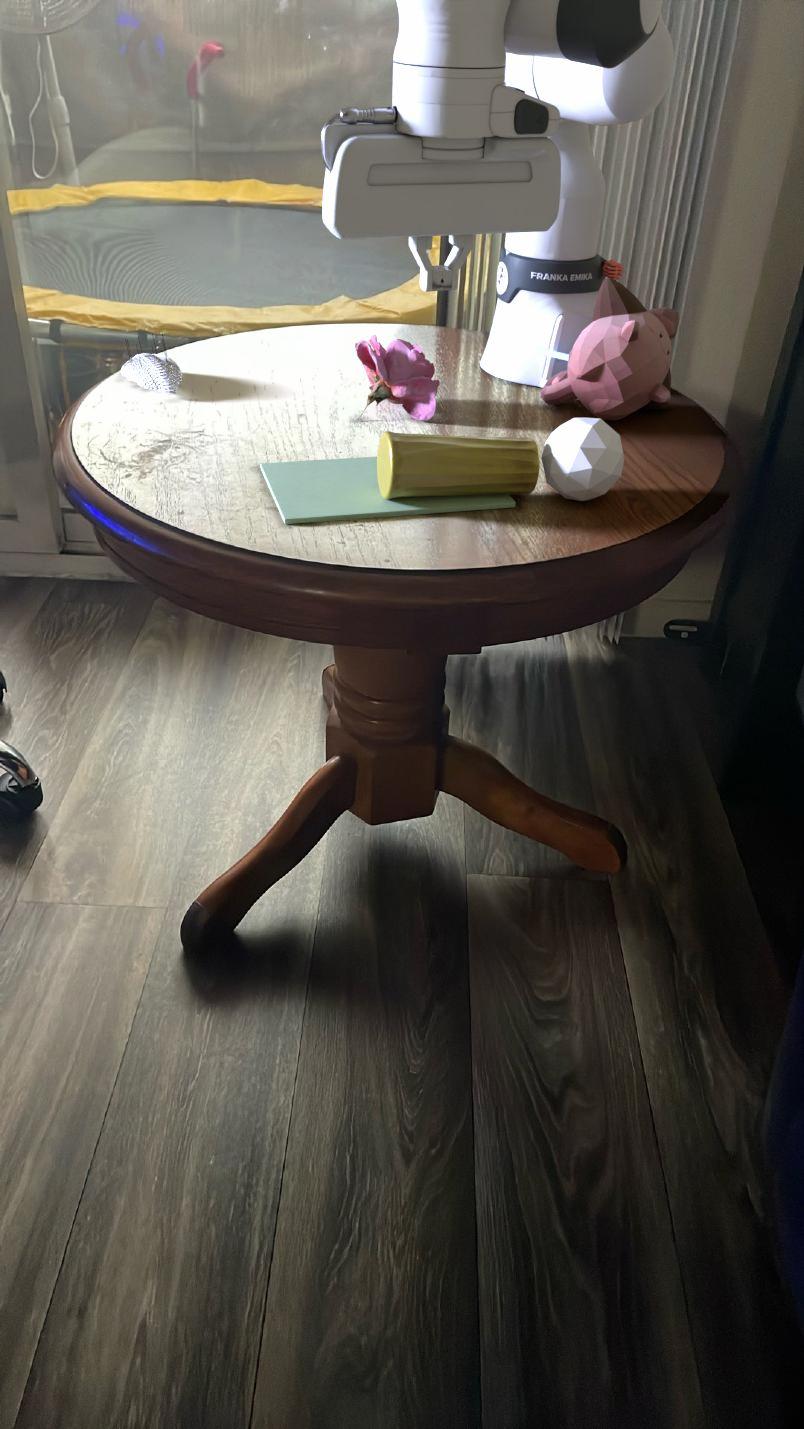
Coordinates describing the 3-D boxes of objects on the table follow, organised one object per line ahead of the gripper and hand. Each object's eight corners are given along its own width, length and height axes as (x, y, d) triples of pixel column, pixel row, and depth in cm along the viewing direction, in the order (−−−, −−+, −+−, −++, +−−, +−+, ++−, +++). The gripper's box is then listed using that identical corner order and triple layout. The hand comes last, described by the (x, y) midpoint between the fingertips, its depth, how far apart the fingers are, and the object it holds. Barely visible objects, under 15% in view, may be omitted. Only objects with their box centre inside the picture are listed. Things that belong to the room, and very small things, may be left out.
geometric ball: (559, 513, 103) (560, 434, 103) (636, 504, 98) (637, 422, 99) (526, 497, 96) (527, 413, 97) (608, 487, 92) (608, 398, 92)
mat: (470, 455, 107) (470, 450, 107) (515, 507, 97) (515, 502, 96) (260, 468, 101) (259, 463, 101) (284, 524, 91) (284, 519, 91)
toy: (598, 312, 105) (671, 242, 111) (494, 345, 117) (565, 280, 123) (661, 451, 112) (726, 378, 119) (558, 469, 125) (621, 401, 131)
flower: (402, 420, 124) (456, 354, 119) (406, 458, 116) (464, 390, 111) (325, 363, 119) (378, 293, 114) (324, 399, 111) (380, 325, 106)
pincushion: (198, 392, 117) (189, 342, 113) (148, 405, 114) (136, 354, 111) (159, 364, 125) (149, 317, 122) (111, 376, 123) (100, 328, 119)
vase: (383, 513, 95) (528, 512, 98) (394, 464, 90) (546, 464, 93) (373, 467, 98) (514, 467, 102) (383, 416, 93) (530, 418, 97)
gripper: (332, 112, 76) (333, 306, 84) (579, 111, 82) (557, 292, 90) (310, 102, 81) (313, 286, 89) (545, 102, 87) (527, 275, 95)
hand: (438, 289), depth 90 cm, fingers closed
